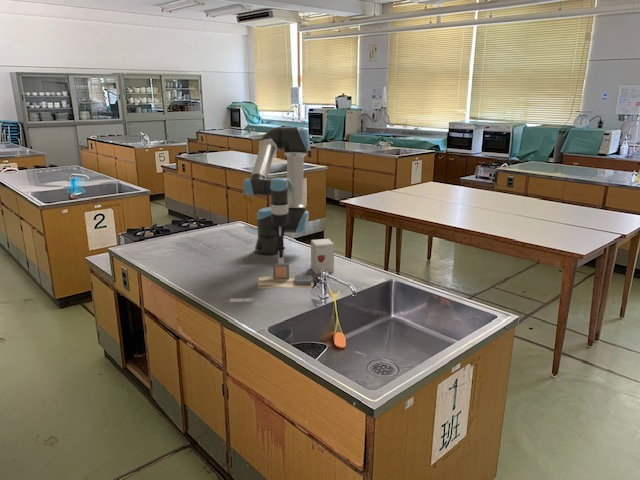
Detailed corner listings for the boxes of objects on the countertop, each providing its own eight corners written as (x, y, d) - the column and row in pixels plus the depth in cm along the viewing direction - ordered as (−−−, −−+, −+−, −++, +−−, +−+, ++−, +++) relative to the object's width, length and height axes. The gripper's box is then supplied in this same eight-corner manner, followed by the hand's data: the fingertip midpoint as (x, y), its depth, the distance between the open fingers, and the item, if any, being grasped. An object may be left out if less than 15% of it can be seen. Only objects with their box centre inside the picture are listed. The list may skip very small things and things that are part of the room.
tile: (273, 278, 219) (273, 263, 217) (289, 278, 219) (288, 263, 217) (273, 279, 217) (272, 264, 215) (289, 279, 218) (288, 264, 216)
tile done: (294, 279, 218) (294, 275, 217) (310, 278, 218) (310, 275, 218) (294, 285, 211) (294, 281, 211) (311, 284, 211) (311, 281, 211)
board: (259, 279, 221) (259, 276, 221) (312, 277, 223) (312, 275, 222) (257, 291, 208) (257, 288, 208) (313, 289, 209) (313, 286, 209)
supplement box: (315, 276, 224) (315, 245, 220) (310, 269, 233) (310, 239, 228) (334, 274, 227) (334, 243, 222) (328, 268, 235) (328, 238, 231)
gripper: (271, 209, 223) (273, 258, 230) (270, 216, 211) (272, 268, 217) (288, 209, 223) (289, 258, 230) (288, 216, 211) (289, 268, 218)
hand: (281, 263), depth 224 cm, fingers closed
